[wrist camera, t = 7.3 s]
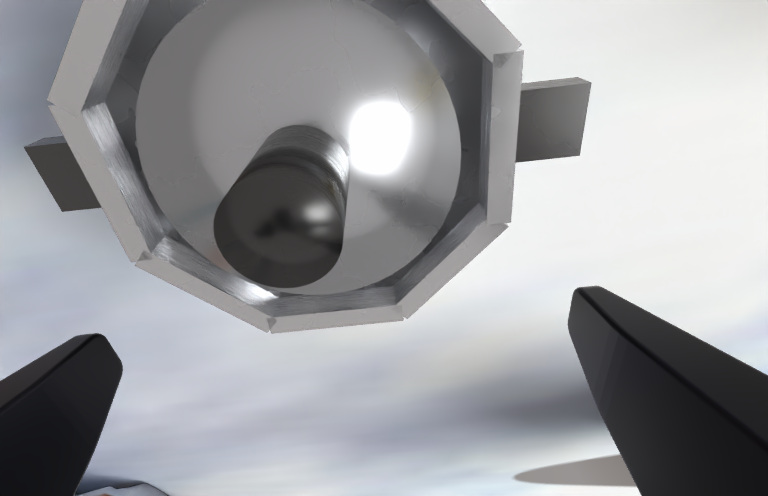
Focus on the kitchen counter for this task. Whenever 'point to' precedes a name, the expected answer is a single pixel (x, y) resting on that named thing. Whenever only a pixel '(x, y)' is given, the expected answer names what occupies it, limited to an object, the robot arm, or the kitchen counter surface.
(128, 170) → the pot
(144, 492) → the grey teddy bear
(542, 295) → the kitchen counter surface
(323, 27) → the lid
